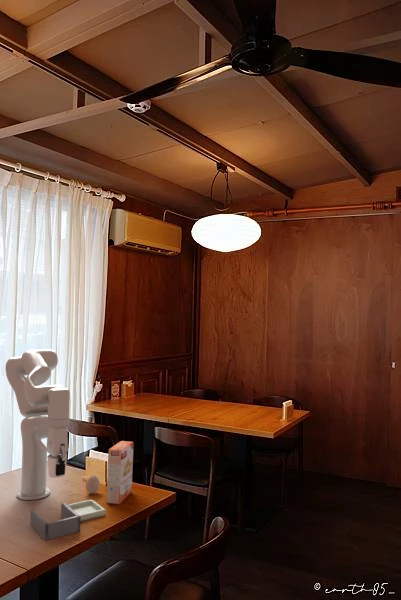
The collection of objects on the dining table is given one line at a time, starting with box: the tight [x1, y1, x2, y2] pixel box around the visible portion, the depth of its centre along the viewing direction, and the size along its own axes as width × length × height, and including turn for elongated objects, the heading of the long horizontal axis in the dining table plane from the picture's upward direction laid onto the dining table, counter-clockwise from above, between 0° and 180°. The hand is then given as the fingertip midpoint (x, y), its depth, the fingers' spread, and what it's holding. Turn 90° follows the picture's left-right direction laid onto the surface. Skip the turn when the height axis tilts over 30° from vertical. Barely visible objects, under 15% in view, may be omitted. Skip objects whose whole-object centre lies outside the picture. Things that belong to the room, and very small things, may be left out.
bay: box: [29, 501, 82, 541], centre depth 168 cm, size 14×12×5 cm
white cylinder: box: [47, 453, 68, 479], centre depth 178 cm, size 7×7×7 cm
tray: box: [67, 498, 106, 522], centre depth 180 cm, size 12×12×2 cm
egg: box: [85, 474, 100, 495], centre depth 200 cm, size 5×5×7 cm
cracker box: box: [106, 440, 134, 505], centre depth 196 cm, size 14×6×21 cm, turn 168°
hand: (57, 471), depth 178 cm, fingers closed on white cylinder, 6 cm apart
